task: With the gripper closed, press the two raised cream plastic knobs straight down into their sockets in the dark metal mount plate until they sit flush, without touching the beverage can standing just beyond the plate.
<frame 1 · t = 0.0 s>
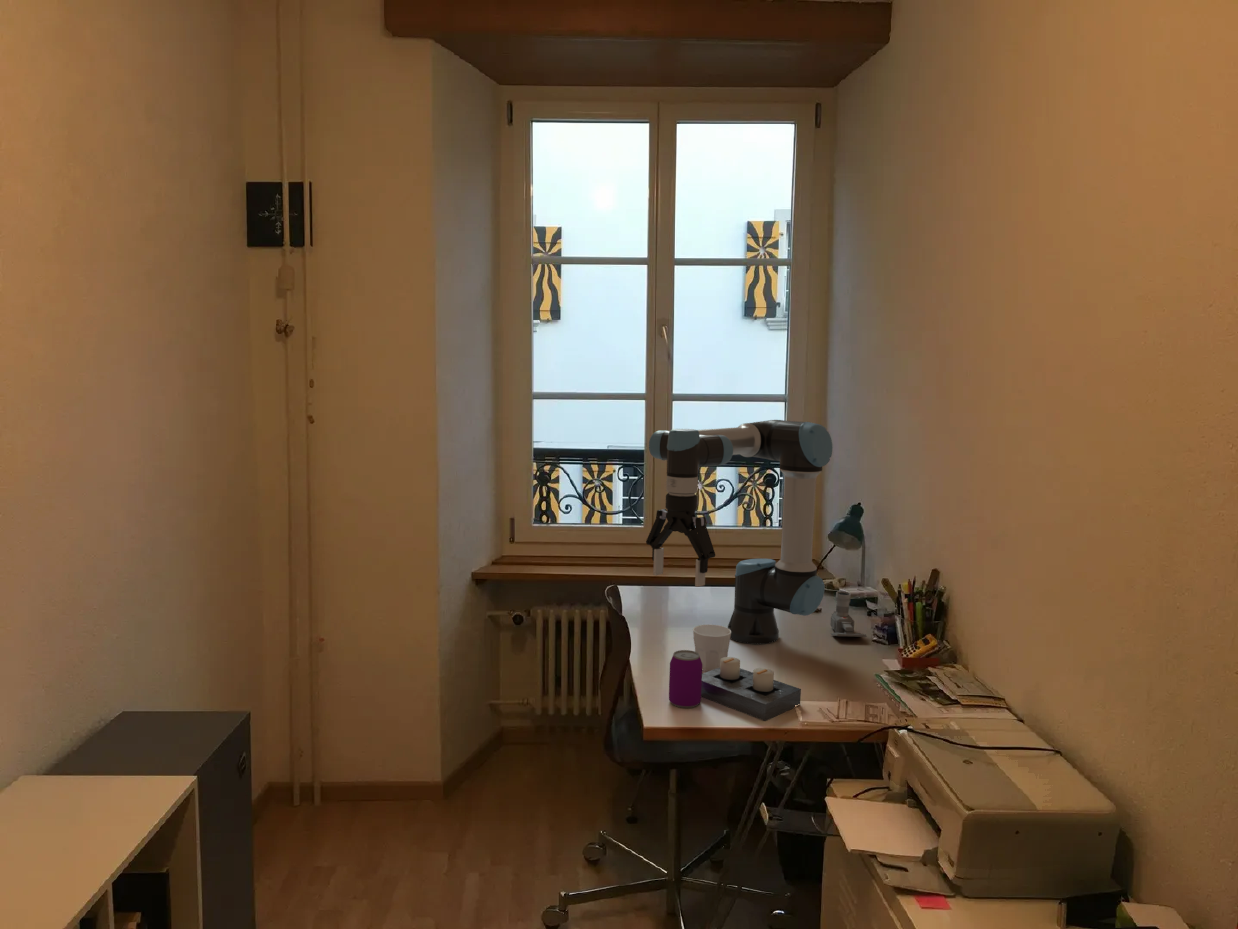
hand: (678, 580, 211), 28 cm above the table, fingers open, 13 cm apart
mount plate: (745, 699, 211), on the table
knob 1: (730, 667, 214), point 6 cm above the table, slide at 4.0 cm
knob 2: (763, 679, 207), point 6 cm above the table, slide at 4.0 cm
cup: (710, 667, 233), on the table
beverage can: (684, 703, 208), on the table
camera: (844, 635, 262), on the table
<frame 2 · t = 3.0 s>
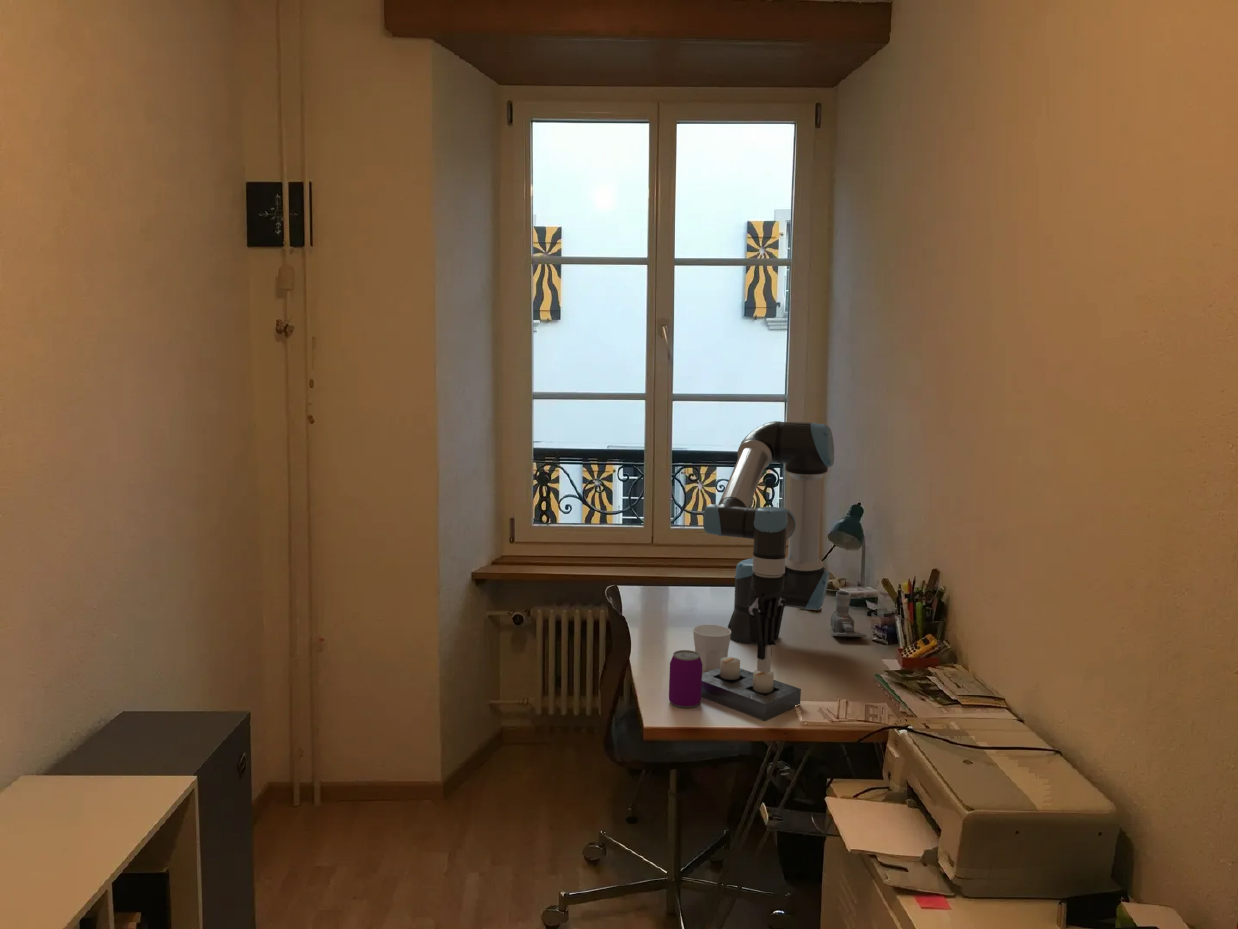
hand: (763, 671, 206), 8 cm above the table, fingers closed
knob 2: (763, 680, 207), point 6 cm above the table, slide at 3.6 cm, touching gripper
everything else where it was.
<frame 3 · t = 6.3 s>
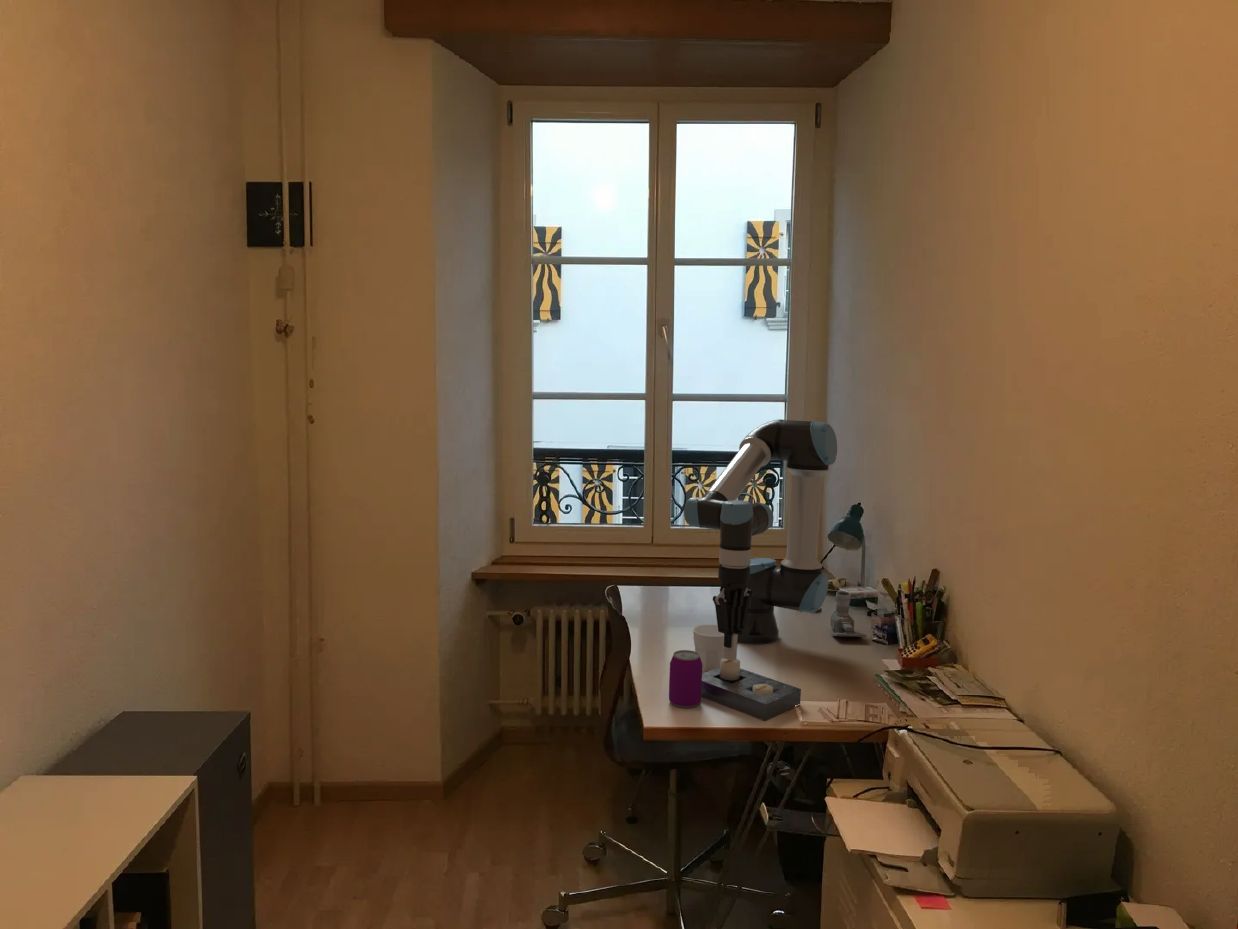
hand: (730, 659, 213), 9 cm above the table, fingers closed
knob 1: (730, 668, 214), point 6 cm above the table, slide at 3.8 cm, touching gripper
knob 2: (762, 695, 207), point 2 cm above the table, slide at 0.1 cm
everything else where it was.
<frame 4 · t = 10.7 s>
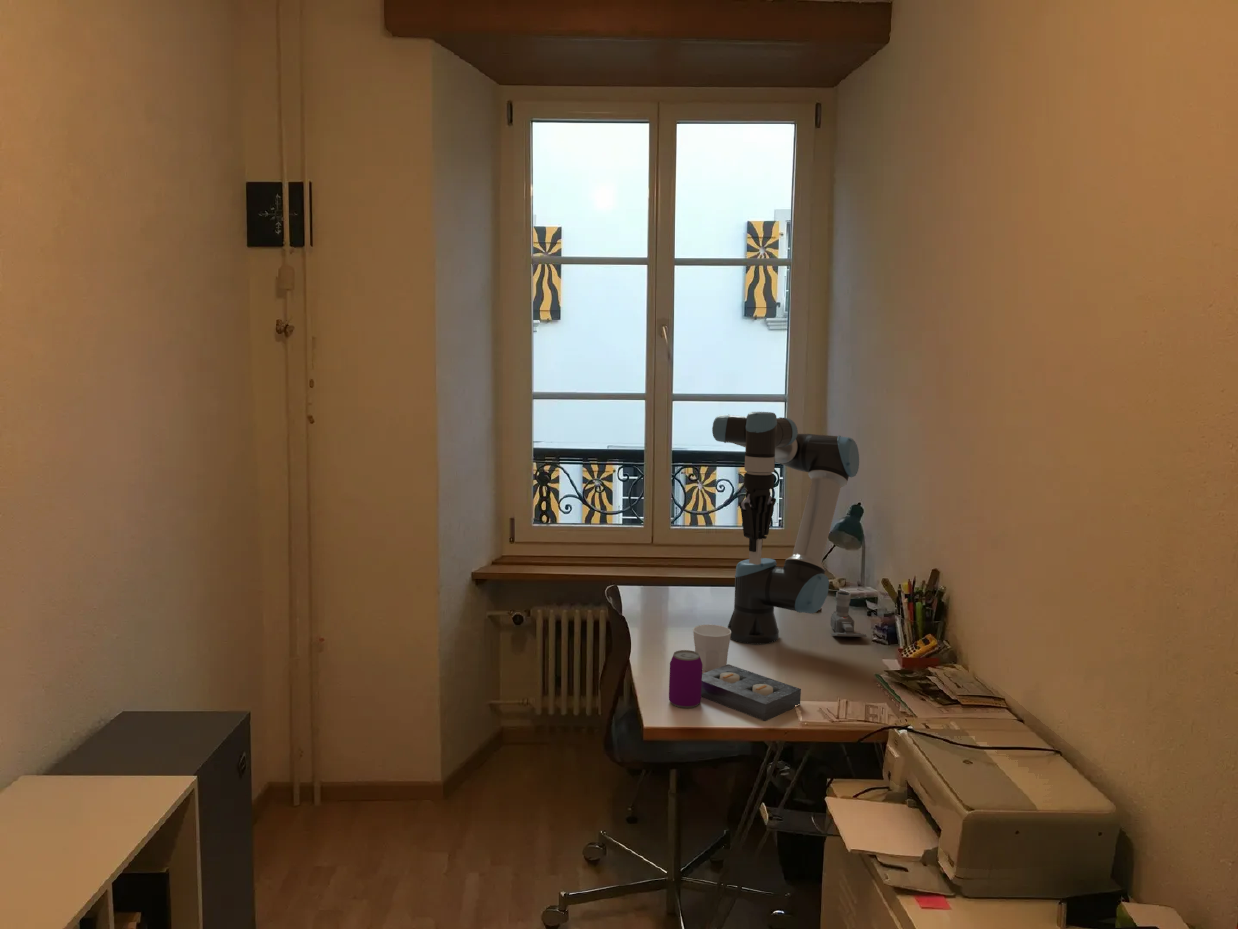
hand: (754, 563, 225), 29 cm above the table, fingers closed
knob 1: (729, 683, 214), point 2 cm above the table, slide at 0.1 cm
everything else where it was.
at the end: knob 2 slide at 0.1 cm; knob 1 slide at 0.1 cm; beverage can moved 0.2 cm from its start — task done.
